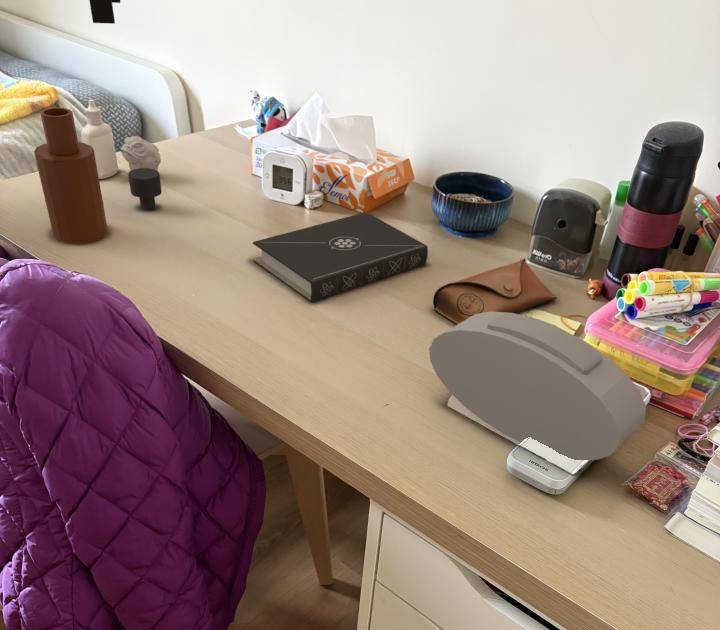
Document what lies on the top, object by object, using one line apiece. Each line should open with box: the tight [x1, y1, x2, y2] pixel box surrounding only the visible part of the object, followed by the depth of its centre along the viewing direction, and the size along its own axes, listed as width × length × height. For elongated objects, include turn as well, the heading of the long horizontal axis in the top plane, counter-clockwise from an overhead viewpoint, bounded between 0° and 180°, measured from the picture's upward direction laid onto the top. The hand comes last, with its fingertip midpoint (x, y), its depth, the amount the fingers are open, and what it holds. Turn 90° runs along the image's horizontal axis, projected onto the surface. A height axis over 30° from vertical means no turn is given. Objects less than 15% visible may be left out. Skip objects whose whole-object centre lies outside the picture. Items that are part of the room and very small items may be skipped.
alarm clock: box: [428, 312, 647, 461], centre depth 76 cm, size 23×6×13 cm, turn 48°
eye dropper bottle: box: [80, 99, 119, 180], centre depth 122 cm, size 4×6×12 cm
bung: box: [127, 168, 163, 212], centre depth 115 cm, size 5×5×6 cm
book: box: [252, 211, 429, 303], centre depth 106 cm, size 22×15×3 cm
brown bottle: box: [33, 107, 108, 245], centre depth 103 cm, size 8×8×17 cm
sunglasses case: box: [432, 258, 558, 326], centre depth 100 cm, size 18×7×7 cm
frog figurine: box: [120, 135, 162, 171], centre depth 124 cm, size 6×7×7 cm
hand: (107, 12), depth 98 cm, fingers open, 13 cm apart
